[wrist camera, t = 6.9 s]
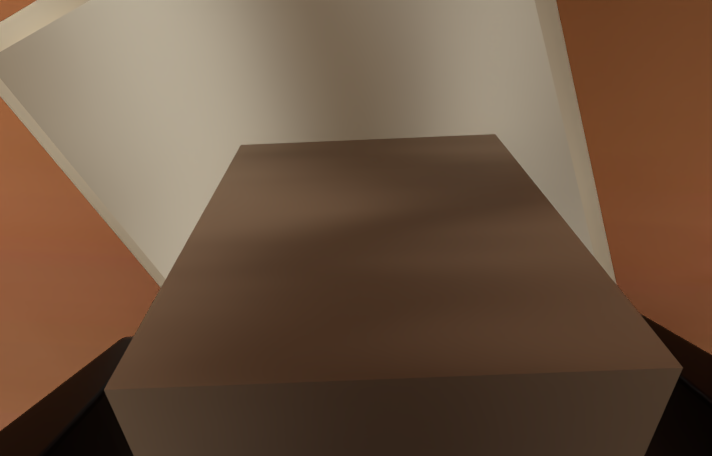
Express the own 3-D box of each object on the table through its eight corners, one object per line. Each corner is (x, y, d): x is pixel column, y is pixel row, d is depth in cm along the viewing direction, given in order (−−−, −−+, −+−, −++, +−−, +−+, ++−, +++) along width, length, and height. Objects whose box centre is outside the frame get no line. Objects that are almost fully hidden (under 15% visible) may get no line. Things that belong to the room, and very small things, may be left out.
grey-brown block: (495, 134, 9) (683, 367, 4) (473, 326, 12) (571, 621, 7) (240, 144, 9) (103, 389, 4) (273, 334, 12) (214, 634, 7)
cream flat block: (446, -195, 10) (501, -279, 6) (575, 286, 16) (639, 381, 13) (72, 18, 12) (-50, 48, 8) (320, 372, 18) (312, 474, 15)
